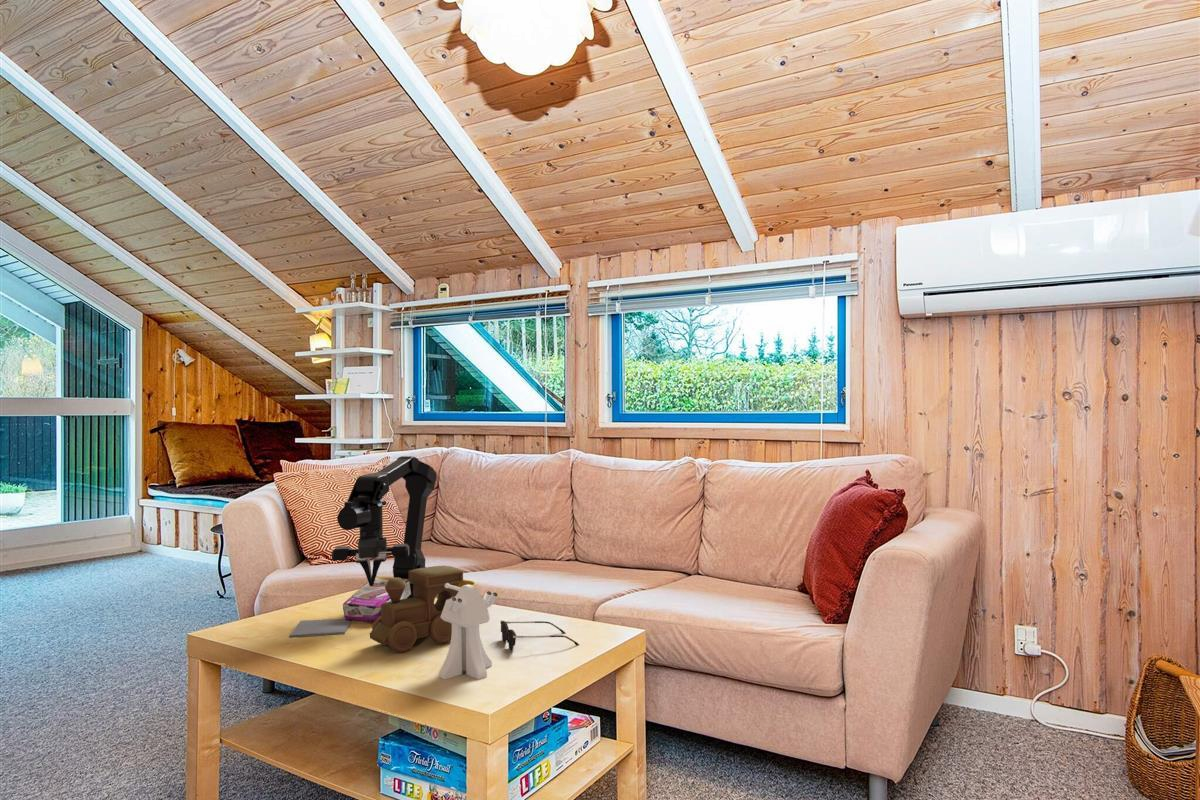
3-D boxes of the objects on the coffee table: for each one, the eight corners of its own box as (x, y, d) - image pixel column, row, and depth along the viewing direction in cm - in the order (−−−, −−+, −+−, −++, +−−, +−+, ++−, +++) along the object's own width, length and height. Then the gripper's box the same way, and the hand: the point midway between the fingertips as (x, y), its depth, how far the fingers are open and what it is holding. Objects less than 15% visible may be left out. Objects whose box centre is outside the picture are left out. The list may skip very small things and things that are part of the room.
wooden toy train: (443, 630, 199) (443, 563, 199) (466, 640, 190) (465, 570, 190) (366, 646, 186) (365, 574, 186) (386, 657, 177) (386, 582, 177)
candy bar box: (341, 602, 206) (373, 575, 222) (343, 620, 208) (374, 591, 223) (381, 606, 204) (410, 578, 219) (383, 624, 205) (411, 595, 221)
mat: (352, 619, 210) (352, 617, 210) (344, 634, 197) (344, 631, 197) (300, 622, 208) (300, 620, 208) (289, 637, 194) (289, 635, 194)
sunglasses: (499, 640, 191) (500, 619, 191) (563, 637, 196) (564, 616, 196) (512, 656, 178) (513, 633, 178) (581, 652, 183) (582, 630, 183)
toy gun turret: (470, 657, 176) (469, 575, 176) (506, 671, 166) (505, 584, 167) (422, 670, 168) (421, 584, 168) (458, 685, 158) (457, 593, 158)
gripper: (328, 530, 195) (328, 594, 195) (406, 527, 199) (407, 590, 198) (334, 524, 206) (335, 585, 206) (409, 521, 210) (409, 581, 209)
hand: (371, 585), depth 205 cm, fingers closed
